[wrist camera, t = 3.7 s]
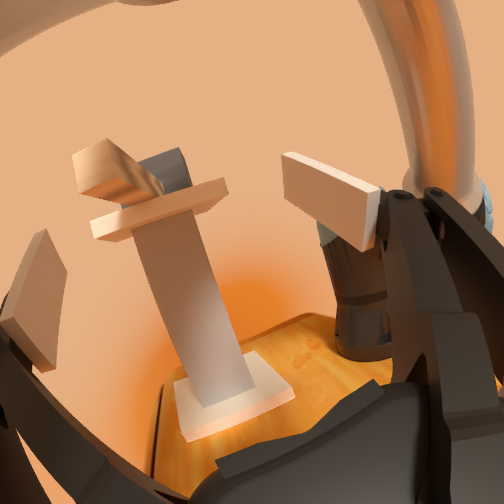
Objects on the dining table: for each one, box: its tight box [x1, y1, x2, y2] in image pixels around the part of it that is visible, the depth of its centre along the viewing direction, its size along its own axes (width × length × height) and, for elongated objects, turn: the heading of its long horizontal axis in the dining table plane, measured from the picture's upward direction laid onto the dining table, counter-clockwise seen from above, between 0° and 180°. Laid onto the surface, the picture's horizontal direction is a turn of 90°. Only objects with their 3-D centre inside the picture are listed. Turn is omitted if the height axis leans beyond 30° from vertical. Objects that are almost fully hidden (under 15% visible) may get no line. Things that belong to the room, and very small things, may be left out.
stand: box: [90, 178, 296, 443], centre depth 39 cm, size 16×16×30 cm
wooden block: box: [72, 138, 193, 209], centre depth 30 cm, size 27×10×7 cm, turn 7°
